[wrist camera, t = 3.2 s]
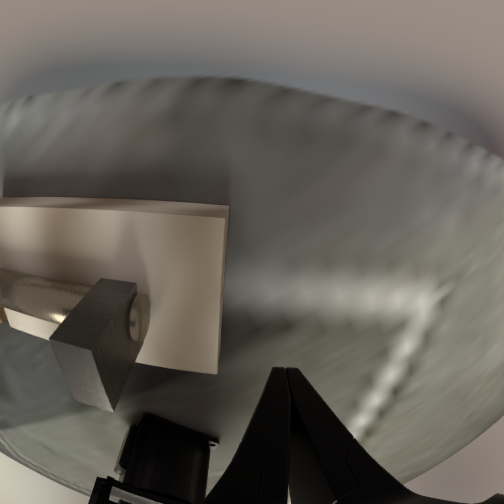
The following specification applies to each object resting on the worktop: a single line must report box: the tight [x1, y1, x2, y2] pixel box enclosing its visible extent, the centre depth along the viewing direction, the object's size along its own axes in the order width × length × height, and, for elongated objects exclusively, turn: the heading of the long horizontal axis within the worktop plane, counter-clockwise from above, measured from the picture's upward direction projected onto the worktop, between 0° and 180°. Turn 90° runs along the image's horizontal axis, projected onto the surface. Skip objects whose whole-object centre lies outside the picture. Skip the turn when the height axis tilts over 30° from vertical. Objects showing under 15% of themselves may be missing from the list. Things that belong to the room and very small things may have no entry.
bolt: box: [0, 268, 150, 412], centre depth 9 cm, size 10×3×5 cm, turn 84°
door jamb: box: [0, 197, 229, 374], centre depth 12 cm, size 24×8×2 cm, turn 84°
